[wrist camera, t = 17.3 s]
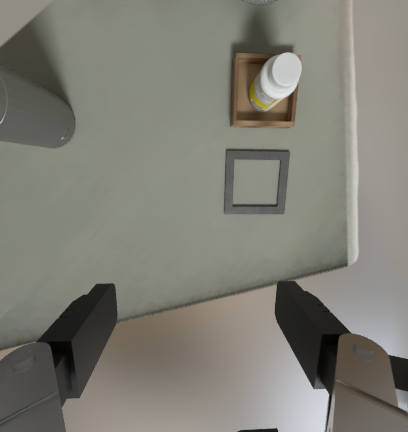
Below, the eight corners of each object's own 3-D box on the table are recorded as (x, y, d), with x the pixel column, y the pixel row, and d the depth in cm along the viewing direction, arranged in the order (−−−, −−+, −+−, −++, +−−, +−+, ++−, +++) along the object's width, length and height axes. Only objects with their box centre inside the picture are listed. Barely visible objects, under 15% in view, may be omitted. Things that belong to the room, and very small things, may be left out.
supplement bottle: (278, 76, 37) (309, 43, 27) (278, 111, 38) (307, 91, 29) (246, 78, 37) (266, 45, 27) (247, 113, 38) (266, 94, 28)
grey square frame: (224, 213, 43) (224, 214, 42) (226, 150, 40) (226, 150, 40) (283, 213, 43) (284, 214, 43) (289, 151, 41) (289, 151, 40)
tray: (230, 127, 39) (233, 124, 37) (232, 60, 37) (235, 52, 34) (287, 128, 40) (294, 125, 37) (293, 63, 37) (300, 55, 35)
